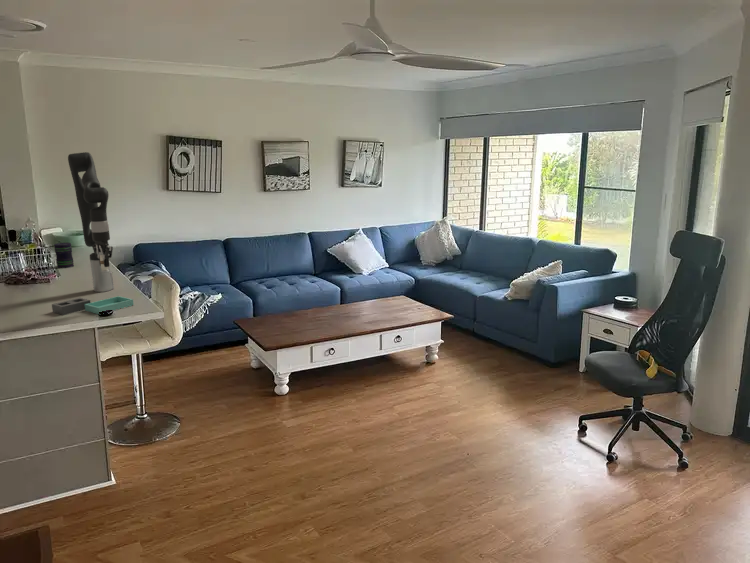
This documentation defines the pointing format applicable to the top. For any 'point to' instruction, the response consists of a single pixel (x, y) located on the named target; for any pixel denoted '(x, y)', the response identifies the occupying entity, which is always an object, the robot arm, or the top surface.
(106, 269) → the fuse
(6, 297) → the top surface
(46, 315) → the top surface
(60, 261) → the storage jar
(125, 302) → the tray
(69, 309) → the block
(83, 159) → the robot arm
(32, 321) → the top surface
